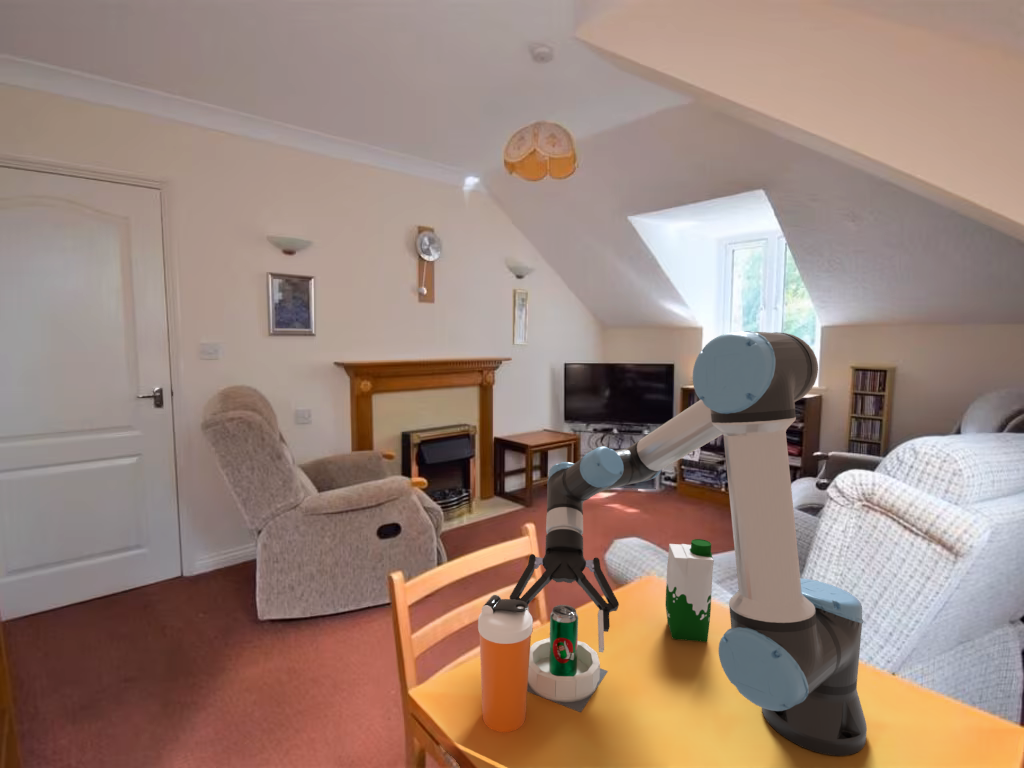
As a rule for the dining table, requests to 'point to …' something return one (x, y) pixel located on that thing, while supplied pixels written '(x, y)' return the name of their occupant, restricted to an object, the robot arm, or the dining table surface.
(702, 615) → the milk carton
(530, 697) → the dining table surface
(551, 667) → the soda can
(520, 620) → the shaker bottle
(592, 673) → the bowl
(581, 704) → the mat
